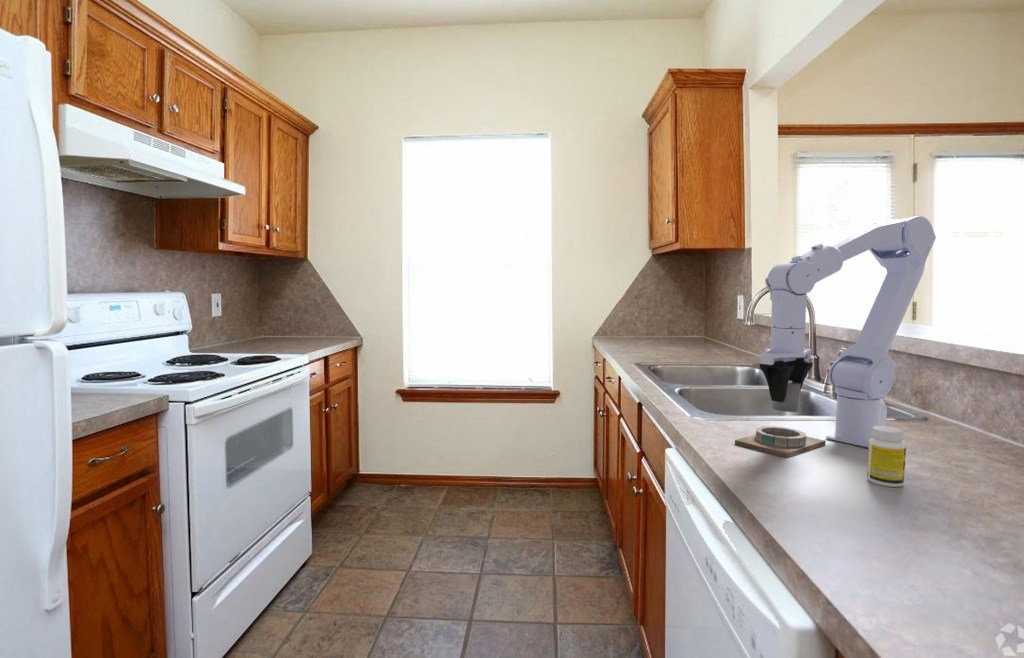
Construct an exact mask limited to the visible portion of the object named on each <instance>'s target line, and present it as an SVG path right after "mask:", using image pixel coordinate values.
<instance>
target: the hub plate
mask: <svg viewBox="0 0 1024 658" xmlns="http://www.w3.org/2000/svg"><path fill="white" fill-rule="evenodd" d="M826 442H827V441H826V440H825V439H820V438H814V437H811V436H807V435H806V433H805V432H803V431H801V430H799V429H794V428H790V427H783V426H774V425H773V426H770V425H769V426H766V425H765V426H759V427H756V429H755V434H752V435H748V436H744V437H742V438H737V439H734V445H737V446H740V447H745V448H748V449H752V450H755V451H759V452H763V453H767V454H771V455H775V456H779V457H782V458H789V457H792V456H796V455H798V454H802V453H806V452H808V451H811V450H815V449H817V448H820V447H824V446H826Z"/></svg>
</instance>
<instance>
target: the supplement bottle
mask: <svg viewBox="0 0 1024 658" xmlns="http://www.w3.org/2000/svg"><path fill="white" fill-rule="evenodd" d="M904 433H905V432H904V430H903V429H902V428H898V427H894V426H887V425H886V426H874V427H873V428H872V436H873V437H874V438H871V439H870V440H869V446H868V447H867V448H868V449H867V451H868V452H867V465H866V479H867V480H868V481H869V482H871V483H872V484H875V485H879V486H883V487H888V488H889V487H890V488H891V487H892V488H899V487H902V486H904V484H905V474H906V473H905V471H906V469H905V468H906V456H907V455H906V454H907V445H906V444H905V443H904V442H903V441H904V439H905V434H904Z"/></svg>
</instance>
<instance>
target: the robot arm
mask: <svg viewBox="0 0 1024 658" xmlns="http://www.w3.org/2000/svg"><path fill="white" fill-rule="evenodd" d="M936 239H937V237H936V234H935V230H934V228H933V225H932V223H931V221H929V219H928V218H927V217H924V216H921V215H917V216H913V217H908V218H901V219H892V220H885V221H883V220H882V221H881V220H880V221H875V222H872V224H868V225H864V226H863V228H862V229H860V230H858V231H856V232H855V233H854V234H851V235H850V236H849V237H847V238H845V239H843V240H842V241H840V242H838V243H836V244H834V245H831V244H822V243H819V244H814V245H813V246H811V247H810V248H811V250H809V251H808V252H806V253H804V254H802V255H794V256H792V257H791V260H790V261H789V262H788V263H779V264H776V265H775V266H773V267H772V268H771V270H770V271H769V273H768V275H767V277H766V278H765V279H764V281H765V286H766V288H767V289H768V291H769V295H770V298H769V299H770V300H771V301H770V302H771V318H770V340H769V343H770V345H769V347H770V348H766V349H764V350H763V351H764V352H761V353H760V359H759V360H760V362H759V368H760V370H761V372H762V373H763V374H764V378H765V379H766V382H767V383H766V384H767V386H768V390H769V391H768V392H769V396H770V400H771V401H772V402H773V401H777V402H784V400H785V397H786V391H787V384H788V381H789V380H790V381H792V382H796V383H800V384H801V385H800V392H802V389H803V388H802V387H803V384H804V381H805V379H806V377H807V375H808V373H809V372H810V370H811V369H812V368H813V362H814V361H810V360H811V359H812V349H811V348H805V345H806V344H805V342H806V319H807V318H806V315H807V297H808V296H807V295H808V294H807V293H810V292H812V290H813V289H814V287H815V285H816V284H817V283H819V282H820V281H822V280H824V279H826V278H829V277H830V276H832V275H835V274H836V273H838V272H839V271H840V270H841V269H842V268H843V263H844V262H845V261H847V260H850V259H852V258H854V257H857V256H858V255H860V254H863V253H865V252H868V251H870V253H871V255H872V256H873V257H874V259H875V260H876V261H877V262H878V263H879V265H880V267H883V268H884V269H885V271H886V275H885V277H884V279H883V282H882V284H881V285H880V286H881V287H880V288H879V290H878V292H877V295H876V298H875V300H874V302H873V304H872V306H871V309H870V311H869V313H868V315H867V318H866V320H865V322H864V324H863V327H862V329H861V331H860V333H859V335H858V338H857V340H856V342H855V343H854V344H853V345H851V346H849V347H847V348H845V349H843V350H842V351H841V353H840V355H839V356H838V358H837V359H836V360H835V361H834V362H833V363H832V364H831V365H830V367H829V370H828V374H827V375H828V381H829V383H830V385H831V386H832V387H833V388H834V391H833V392H834V393H835V394H836V410H835V411H836V413H835V431H834V433H831V434H829V435H826V436H825V438H826V439H827V440H833V441H836V442H841V443H846V444H849V445H855V446H859V447H864V448H868V446H869V440H870V439H871V438H874V437H873V436H872V428H873V427H874V426H887V414H888V413H887V412H888V409H887V408H888V407H887V405H886V403H885V401H884V399H885V396H887V395H888V394H889V392H890V391H891V390H892V387H893V385H894V373H895V371H896V368H897V365H896V363H895V361H894V360H893V359H892V358H891V356H890V355H889V354H888V353H889V351H890V349H891V346H892V343H894V342H893V341H894V340H895V337H896V335H897V333H898V330H899V328H900V326H901V325H902V321H903V319H904V317H905V315H906V313H907V311H908V308H909V306H910V303H911V301H912V299H913V297H914V295H915V292H916V290H917V288H918V285H919V283H920V281H921V279H922V276H923V275H924V271H925V266H926V262H927V258H928V256H929V254H930V253H931V251H932V248H933V245H934V243H935V242H936Z"/></svg>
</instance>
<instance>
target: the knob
mask: <svg viewBox="0 0 1024 658" xmlns="http://www.w3.org/2000/svg"><path fill="white" fill-rule="evenodd" d="M800 385H801V384H800V383H796V382H792V381H790V380H789V381H788V384H787V391H786V397H785V400H784V402H777V401H772V407H771V408H772V409H773V410H774V411H779V412H786V413H787V412H788V413H796V412H797V413H798V412H799V411H800V399H801V391H800Z"/></svg>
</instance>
